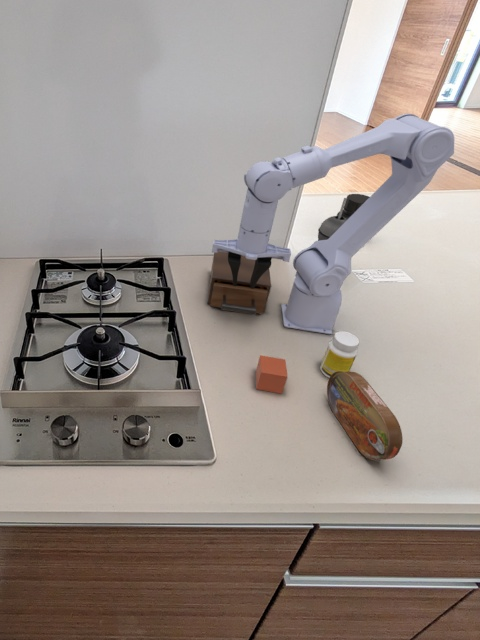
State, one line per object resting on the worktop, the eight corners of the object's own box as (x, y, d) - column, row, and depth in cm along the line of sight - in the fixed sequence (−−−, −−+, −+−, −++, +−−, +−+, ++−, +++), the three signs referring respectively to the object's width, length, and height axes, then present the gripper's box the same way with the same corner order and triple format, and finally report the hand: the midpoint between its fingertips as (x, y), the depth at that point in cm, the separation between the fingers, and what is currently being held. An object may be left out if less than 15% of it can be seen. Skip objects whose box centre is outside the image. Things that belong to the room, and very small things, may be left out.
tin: (320, 394, 78) (334, 360, 73) (337, 393, 78) (352, 359, 73) (372, 472, 65) (393, 437, 61) (392, 470, 66) (414, 435, 61)
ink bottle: (326, 239, 125) (339, 200, 119) (331, 226, 131) (343, 189, 125) (364, 247, 121) (379, 208, 114) (367, 234, 127) (381, 196, 120)
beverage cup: (305, 277, 109) (328, 203, 98) (306, 262, 115) (327, 191, 104) (338, 283, 107) (365, 208, 96) (336, 268, 112) (361, 196, 101)
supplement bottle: (350, 383, 80) (365, 349, 75) (322, 379, 81) (336, 345, 76) (343, 364, 84) (357, 331, 79) (317, 361, 85) (329, 328, 80)
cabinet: (264, 312, 97) (271, 285, 93) (207, 304, 100) (212, 277, 96) (261, 279, 108) (267, 254, 104) (210, 273, 111) (214, 247, 107)
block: (280, 376, 82) (285, 359, 79) (281, 394, 78) (287, 376, 76) (255, 371, 83) (260, 354, 80) (256, 389, 79) (261, 372, 77)
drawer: (263, 326, 92) (269, 305, 89) (209, 318, 95) (212, 297, 91) (260, 282, 106) (265, 263, 102) (213, 276, 108) (216, 256, 105)
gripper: (215, 231, 81) (206, 290, 89) (298, 241, 78) (281, 301, 85) (217, 215, 87) (208, 272, 94) (294, 223, 84) (278, 281, 91)
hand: (243, 284), depth 90 cm, fingers open, 3 cm apart
